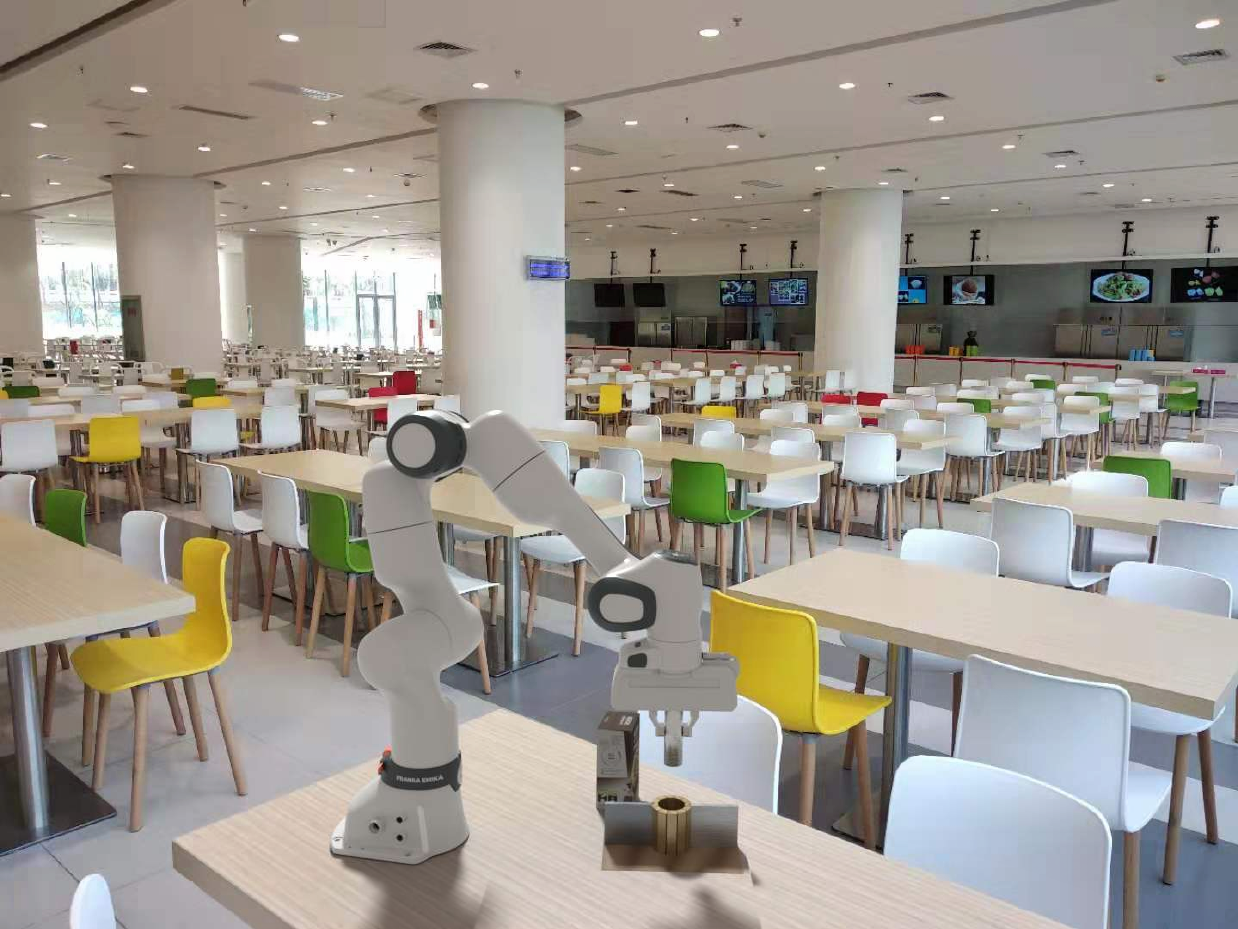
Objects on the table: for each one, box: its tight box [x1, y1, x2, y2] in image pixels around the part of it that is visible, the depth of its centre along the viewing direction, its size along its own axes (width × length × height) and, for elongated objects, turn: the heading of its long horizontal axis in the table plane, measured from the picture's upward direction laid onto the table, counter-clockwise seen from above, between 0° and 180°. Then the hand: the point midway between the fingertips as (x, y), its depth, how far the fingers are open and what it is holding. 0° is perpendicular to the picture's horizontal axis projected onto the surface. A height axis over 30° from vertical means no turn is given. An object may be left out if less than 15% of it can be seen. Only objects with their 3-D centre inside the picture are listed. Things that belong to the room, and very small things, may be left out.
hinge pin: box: [663, 711, 684, 768], centre depth 153 cm, size 3×3×12 cm
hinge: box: [603, 794, 739, 855], centre depth 155 cm, size 22×6×7 cm, turn 89°
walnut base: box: [600, 830, 744, 875], centre depth 154 cm, size 22×12×2 cm, turn 89°
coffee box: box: [595, 710, 641, 810], centre depth 171 cm, size 9×6×16 cm
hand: (673, 735), depth 154 cm, fingers closed on hinge pin, 3 cm apart
